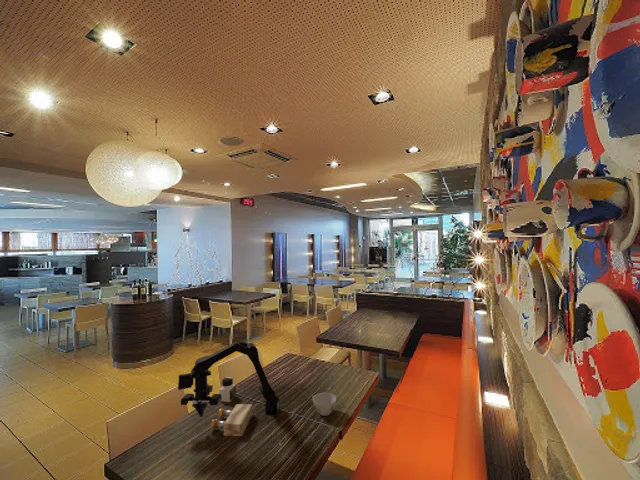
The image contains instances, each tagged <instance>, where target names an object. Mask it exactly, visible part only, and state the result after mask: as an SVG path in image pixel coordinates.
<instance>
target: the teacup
mask: <svg viewBox="0 0 640 480" xmlns="http://www.w3.org/2000/svg"><path fill="white" fill-rule="evenodd" d="M311 399H312V400H311V401H312V402H313V406H314V409H315V410H316V412H318V414H319V415H321V416H324V417H327V416H329V415H330V414H331V413H332V412H333V411H334V409H335V406H336V402H337V397H336V395H335V394H332V393H331V392H320V393H316V394H315V395H312V397H311Z"/></svg>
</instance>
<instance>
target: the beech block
mask: <svg viewBox="0 0 640 480" xmlns="http://www.w3.org/2000/svg"><path fill="white" fill-rule="evenodd" d="M231 410H232V412H231V413H230V415H229V416H228V417H227V418H226V420H224V421H225V423H224V428H223V436H225V437H242V436H243V434H244V432H245V431H246V429H247V426H248V425H249V422H250V420H251V418H252V417H253V404H251V403H250V404H249V403H247V404H246V403H237V404H235V406H234V407H233V409H231Z"/></svg>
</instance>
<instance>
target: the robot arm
mask: <svg viewBox="0 0 640 480" xmlns="http://www.w3.org/2000/svg"><path fill="white" fill-rule="evenodd" d="M235 352H238V353H240V354H243V355H246V356H247V357H248V358H249V360H250V362H251V363H252V365H253V368H254V370H255V373H256V375H257V377H258V380H259V382H260V386H259V387H258V388H259V390H260V393H261V396H262V398H263V399H265V403H264V406H265V407H264V411H265V413H264V414H265V415H278V413H279V411H280V410H279V409H280V406H279V401H280V397H279V396H278V393H277V391H276V390H275V389H274V388H273V387H272V385H271V383H270V381H268V379H267V376H266V374H265V371H264V369H263V366H262V363H261V361H260V357H259V350H258V348H257V346H256V345H255V343H254V342H253V343H252V342H249V343H247V342H241V341H240V342H239V341H236V340H235V341H233V342H232V343H230V344H229V345H227V346H224V347H223V348H221V349H219V350H217V351H216V352H214V353H212V354H210V355H209V354H208V355H204V356H202V357H199V358H197V359H196V360H195V362H194V366H193V367H192V369H191V370H190V372H189V373H185V374H184V373H183V374H178V383H177V384H178V385H177V390H178V391H181V390H186V389H190V388H192V387H193V386H194V389H193V392H194V393H186V394H184V396H183V397H182V398H181V399H180V405H181V406H187V405H188V404H189V402H192V405H191V407H193V408H194V409H195V411H196V412H197V413H198V415H199V417H200V418H202V417H203V416H204V413H205V412H206V408H207V406H208V405H210V406H218V405H219V403H220V402H222V401H221V399H222V395H221V394H219V393H213V394H212V395H210V394H211V393H212V392H213V387H214V385H210V384H209V383H208V376H211V375H212V371H211V370H209V369H210V368H211V367H212V366H213V365H214V364H216V363H217V362H219V361H221V360H223V359H224V358H227V357H228V356H230V355H232V354H233V353H235Z"/></svg>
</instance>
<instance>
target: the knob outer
mask: <svg viewBox="0 0 640 480" xmlns="http://www.w3.org/2000/svg"><path fill="white" fill-rule="evenodd" d="M225 421H226V420H218V419H217V418H212V419H211V421H210V426H209V427H210V430H213V431H214V430H216V429H218V428H220V429H221V428H222V429H224V423H225Z"/></svg>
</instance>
